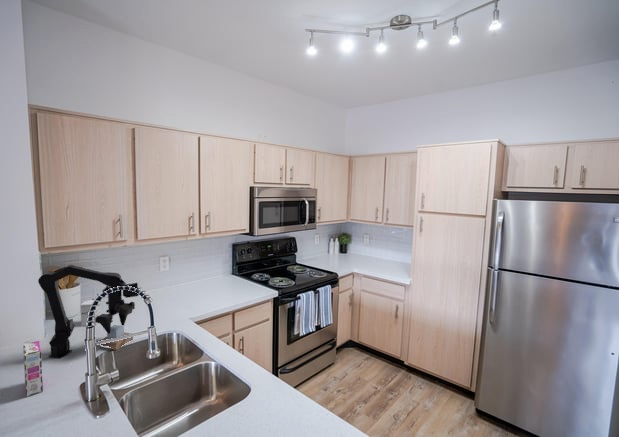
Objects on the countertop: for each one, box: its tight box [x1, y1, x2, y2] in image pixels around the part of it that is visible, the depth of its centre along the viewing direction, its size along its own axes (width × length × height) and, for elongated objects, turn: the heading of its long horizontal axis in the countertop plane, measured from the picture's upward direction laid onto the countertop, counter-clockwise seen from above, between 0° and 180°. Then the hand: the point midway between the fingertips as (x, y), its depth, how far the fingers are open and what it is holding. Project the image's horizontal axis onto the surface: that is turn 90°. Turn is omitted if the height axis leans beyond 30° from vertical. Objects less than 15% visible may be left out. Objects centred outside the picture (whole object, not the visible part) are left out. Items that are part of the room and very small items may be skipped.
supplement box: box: [80, 299, 101, 327], centre depth 175 cm, size 7×7×13 cm
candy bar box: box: [23, 340, 44, 398], centre depth 117 cm, size 11×5×16 cm, turn 44°
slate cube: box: [106, 324, 125, 339], centre depth 152 cm, size 5×5×5 cm
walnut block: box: [98, 332, 134, 351], centre depth 152 cm, size 10×10×4 cm
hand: (116, 329), depth 152 cm, fingers open, 9 cm apart
